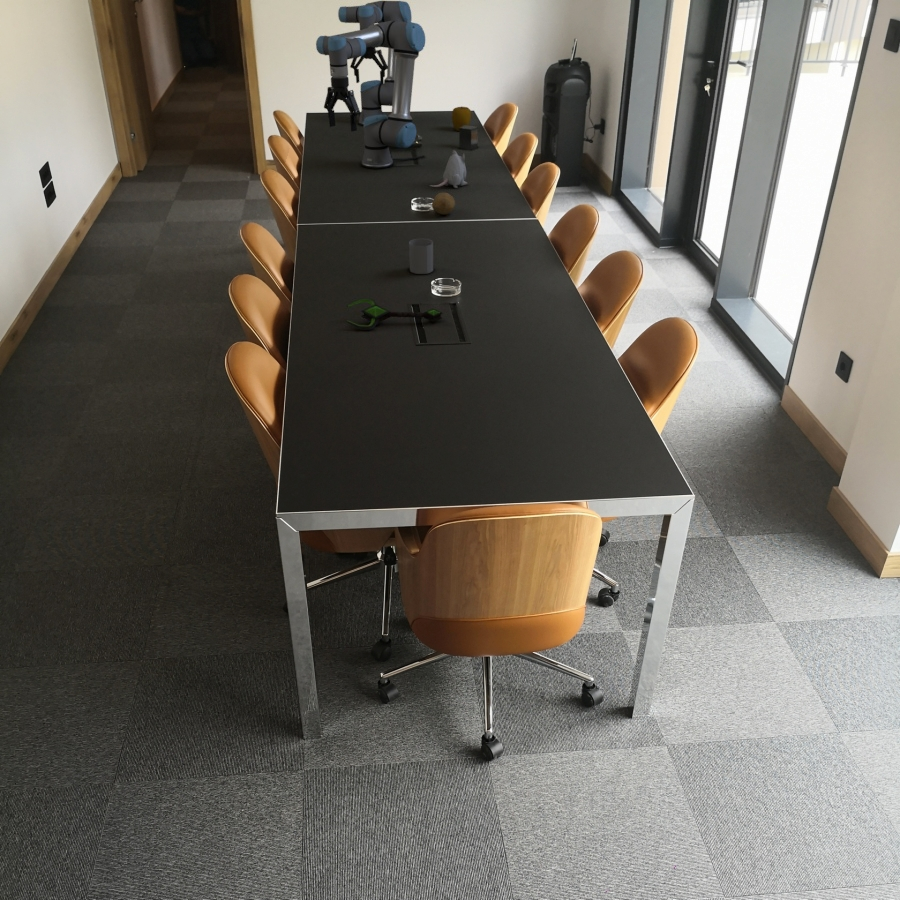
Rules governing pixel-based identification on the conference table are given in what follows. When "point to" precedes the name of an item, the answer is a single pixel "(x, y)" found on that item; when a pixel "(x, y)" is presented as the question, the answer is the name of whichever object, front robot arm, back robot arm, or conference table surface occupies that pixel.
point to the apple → (461, 117)
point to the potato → (443, 203)
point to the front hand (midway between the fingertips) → (343, 128)
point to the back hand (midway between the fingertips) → (369, 83)
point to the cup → (421, 256)
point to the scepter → (389, 314)
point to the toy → (454, 171)
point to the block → (468, 137)
